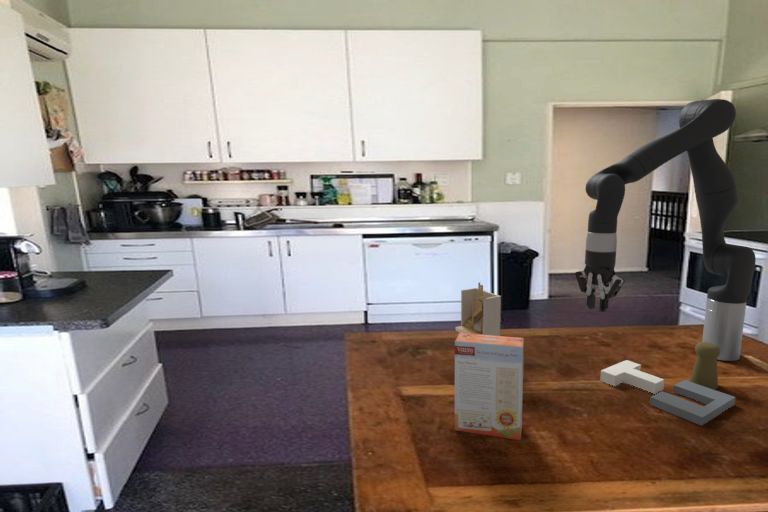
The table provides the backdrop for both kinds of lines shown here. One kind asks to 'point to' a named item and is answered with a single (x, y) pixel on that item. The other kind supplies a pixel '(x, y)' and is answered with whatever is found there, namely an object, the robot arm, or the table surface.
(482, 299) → the beige open box
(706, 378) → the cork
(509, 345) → the cracker box
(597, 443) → the table surface
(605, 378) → the t block
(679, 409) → the t bay
